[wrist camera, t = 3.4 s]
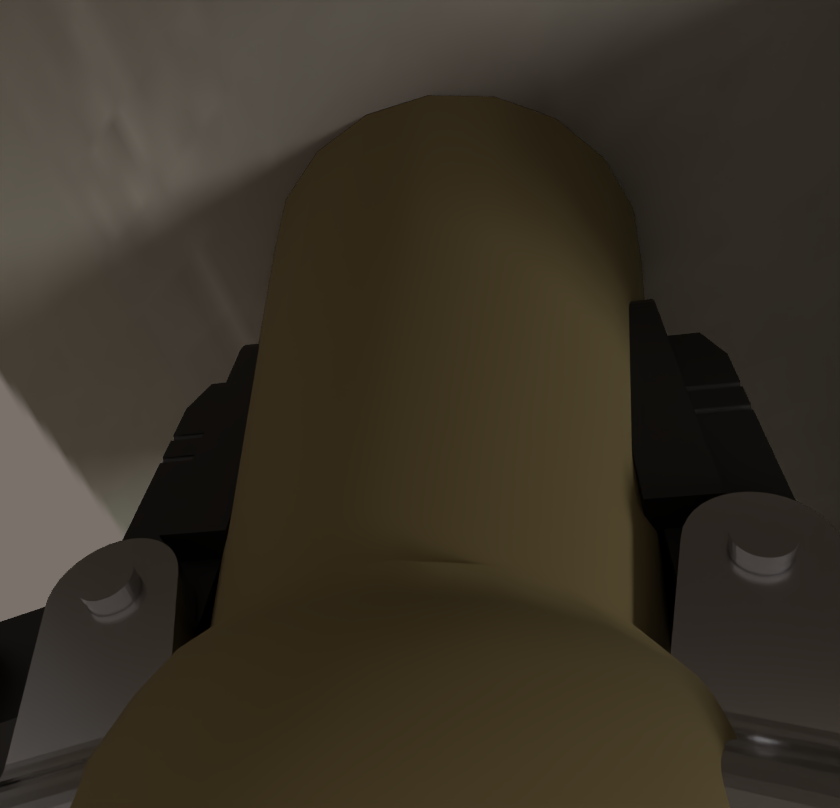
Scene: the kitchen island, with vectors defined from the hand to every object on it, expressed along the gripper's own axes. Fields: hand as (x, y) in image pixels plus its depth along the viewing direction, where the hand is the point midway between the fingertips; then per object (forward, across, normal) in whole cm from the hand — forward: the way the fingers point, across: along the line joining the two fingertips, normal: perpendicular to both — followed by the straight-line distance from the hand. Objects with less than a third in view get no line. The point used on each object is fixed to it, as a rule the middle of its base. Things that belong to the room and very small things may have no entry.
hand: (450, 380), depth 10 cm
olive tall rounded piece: (+3, 0, 0) cm, 3 cm away
